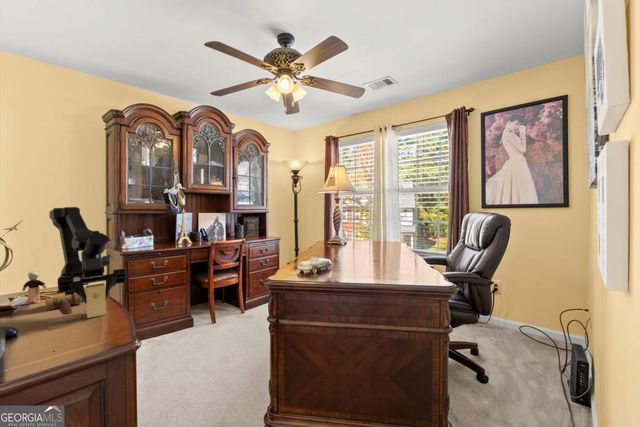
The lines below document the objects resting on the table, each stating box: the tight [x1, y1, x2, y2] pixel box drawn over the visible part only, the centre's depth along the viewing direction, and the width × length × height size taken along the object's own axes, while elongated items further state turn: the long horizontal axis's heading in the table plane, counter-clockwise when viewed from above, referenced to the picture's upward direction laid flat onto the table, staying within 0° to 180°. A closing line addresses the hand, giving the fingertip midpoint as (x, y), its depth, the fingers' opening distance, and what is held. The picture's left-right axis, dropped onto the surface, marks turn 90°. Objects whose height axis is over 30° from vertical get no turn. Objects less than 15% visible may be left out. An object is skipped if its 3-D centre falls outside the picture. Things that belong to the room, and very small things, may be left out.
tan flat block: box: [47, 313, 83, 332], centre depth 94 cm, size 12×8×2 cm
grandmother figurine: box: [21, 271, 47, 305], centre depth 118 cm, size 8×4×13 cm, turn 120°
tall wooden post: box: [85, 282, 107, 319], centre depth 99 cm, size 3×5×10 cm
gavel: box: [45, 293, 82, 316], centre depth 107 cm, size 21×5×10 cm
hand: (96, 300), depth 98 cm, fingers closed on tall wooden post, 5 cm apart
